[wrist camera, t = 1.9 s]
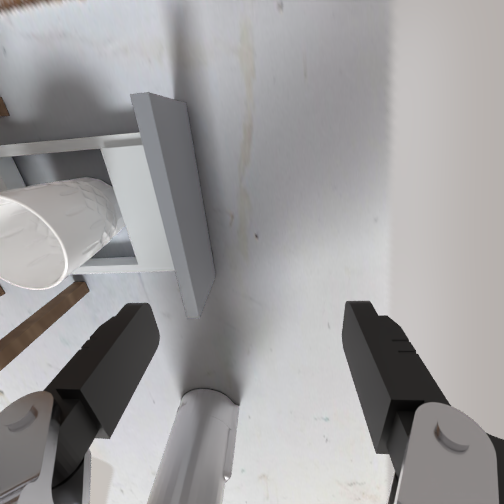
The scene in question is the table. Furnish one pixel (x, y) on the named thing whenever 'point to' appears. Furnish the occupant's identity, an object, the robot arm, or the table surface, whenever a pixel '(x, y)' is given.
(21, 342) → the wooden side table
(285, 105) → the table surface
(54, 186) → the white cup
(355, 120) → the table surface
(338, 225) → the table surface
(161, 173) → the white drawer
